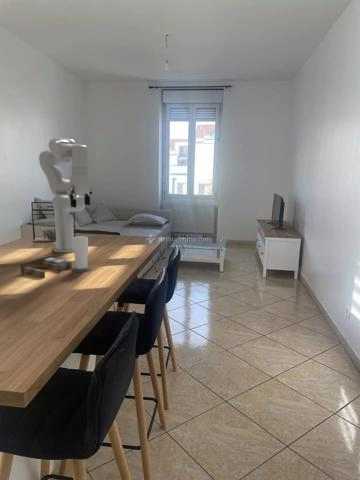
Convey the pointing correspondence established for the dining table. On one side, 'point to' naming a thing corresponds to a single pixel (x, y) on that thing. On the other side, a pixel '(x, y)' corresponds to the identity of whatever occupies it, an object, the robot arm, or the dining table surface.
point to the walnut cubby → (44, 265)
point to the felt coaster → (81, 270)
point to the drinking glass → (80, 251)
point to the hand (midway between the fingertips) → (80, 205)
